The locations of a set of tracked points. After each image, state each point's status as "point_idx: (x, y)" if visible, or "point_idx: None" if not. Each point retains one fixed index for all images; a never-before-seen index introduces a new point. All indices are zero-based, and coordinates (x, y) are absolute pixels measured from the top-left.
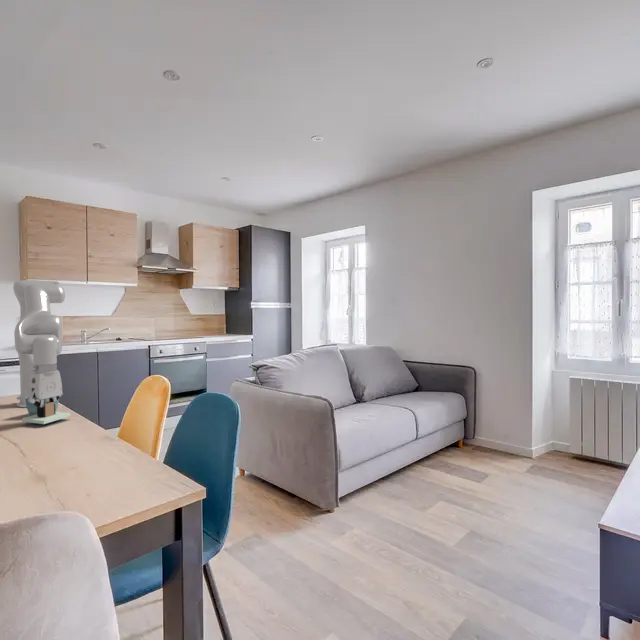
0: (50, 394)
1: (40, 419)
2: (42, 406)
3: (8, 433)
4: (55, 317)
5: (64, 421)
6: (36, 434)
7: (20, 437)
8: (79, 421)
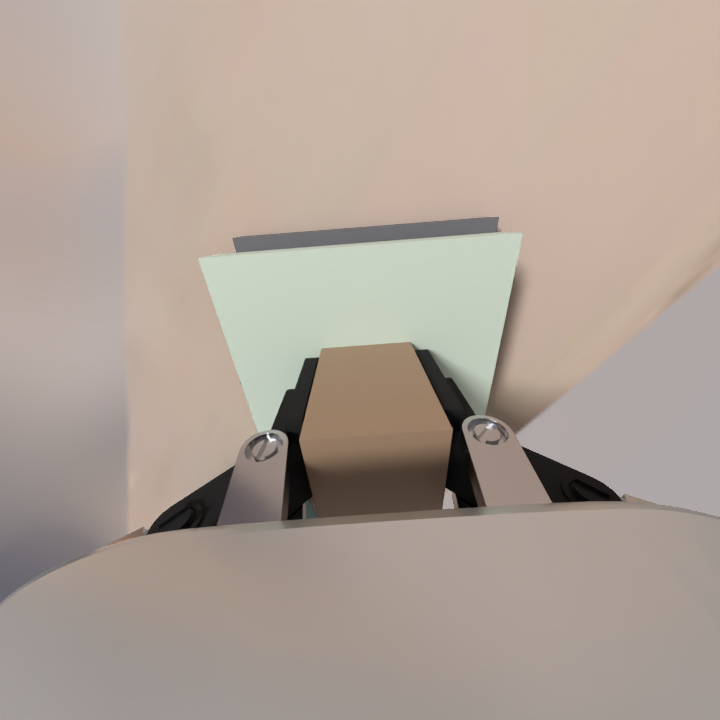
0: (452, 635)
1: (478, 319)
2: (467, 426)
3: (564, 380)
4: None
5: (294, 235)
6: (605, 156)
7: (679, 211)
8: (178, 174)
